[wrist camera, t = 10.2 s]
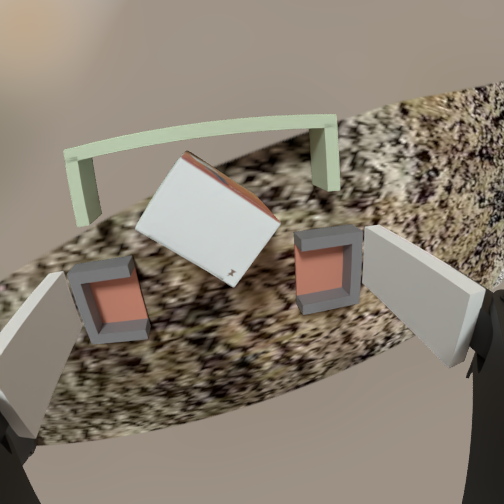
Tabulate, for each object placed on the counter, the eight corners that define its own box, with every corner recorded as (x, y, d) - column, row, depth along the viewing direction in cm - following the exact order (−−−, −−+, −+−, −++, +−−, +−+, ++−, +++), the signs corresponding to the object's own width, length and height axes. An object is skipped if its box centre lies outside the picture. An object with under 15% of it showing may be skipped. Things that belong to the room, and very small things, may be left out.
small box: (256, 194, 30) (285, 224, 21) (223, 241, 31) (236, 291, 22) (186, 147, 28) (180, 153, 18) (153, 198, 29) (132, 230, 19)
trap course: (97, 331, 33) (89, 352, 29) (51, 155, 25) (33, 158, 22) (349, 293, 36) (364, 309, 32) (348, 116, 29) (368, 114, 25)
